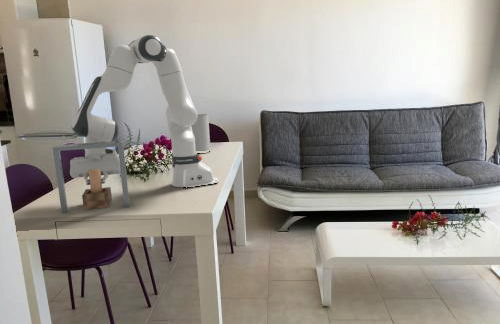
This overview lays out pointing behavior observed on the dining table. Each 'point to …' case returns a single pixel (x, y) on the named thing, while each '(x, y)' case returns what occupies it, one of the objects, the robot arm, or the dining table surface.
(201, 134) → the cylinder vase
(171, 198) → the dining table surface
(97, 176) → the terracotta peg
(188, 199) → the dining table surface
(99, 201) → the walnut socket
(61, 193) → the grey arch frame
